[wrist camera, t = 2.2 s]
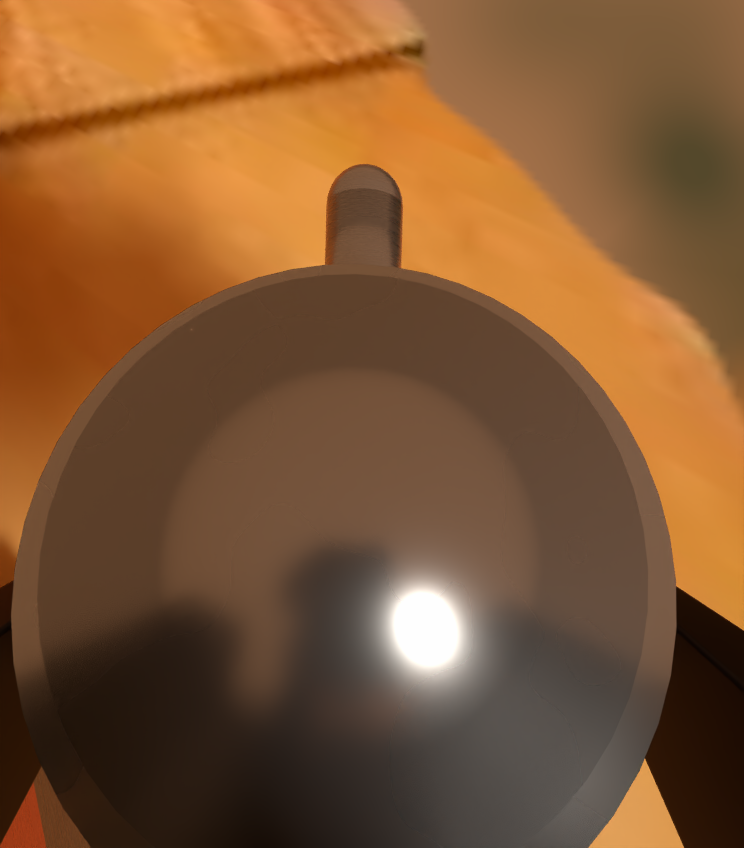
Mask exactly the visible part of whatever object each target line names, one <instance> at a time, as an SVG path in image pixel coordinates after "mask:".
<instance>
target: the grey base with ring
mask: <svg viewBox="0 0 744 848" xmlns="http://www.w3.org/2000/svg"><path fill="white" fill-rule="evenodd" d="M0 848H91V847H90V845H89V844H88V842H87V841H86V840H85V838H84V837H83V835H82V834H81V833H80V831H79V830H78V828H77V827H76V826H75V824H74V823H73V822H72V820H71V819H70V817H69V816H68V815H67V813H66V812H65V810H64V809H63V808H62V806H61V804H60V802H59V800H58V798H57V796H56V794H55V792H54V790H53V788H52V786H51V784H50V782H49V780H48V778H47V776H46V774H45V772H44V770H43V768H42V767H41V769H40V771H39V773H38V775H37V776H36V778H35V780H34V782H33V784H32V786H31V788H30V790H29V792H28V794H27V795H26V797H25V799H24V801H23V803H22V805H21V807H20V809H19V811H18V813H17V814H16V816H15V818H14V820H13V822H12V824H11V826H10V828H9V830H8V832H7V834H6V835H5V837H4V839H3V841H2V843H1V845H0Z"/></svg>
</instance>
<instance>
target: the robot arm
mask: <svg viewBox="0 0 744 848" xmlns="http://www.w3.org/2000/svg"><path fill="white" fill-rule="evenodd" d="M13 585H14V580H13V581H12V582H10V583H8V584H6V585H5V586H3V587H1V588H0V845H1V843H2V841H3V839H4V837H5V835H6V834H7V832H8V830H9V828H10V826H11V824H12V822H13V820H14V818H15V816H16V814H17V813H18V811H19V809H20V807H21V805H22V803H23V801H24V799H25V797H26V795H27V794H28V792H29V790H30V788H31V786H32V784H33V782H34V780H35V778H36V776H37V775H38V773H39V771H40V769H41V767H42V766H41V764H40V762H39V760H38V757H37V754H36V751H35V748H34V745H33V742H32V739H31V736H30V733H29V730H28V727H27V724H26V721H25V718H24V715H23V712H22V707H21V702H20V696H19V691H18V685H17V680H16V674H15V669H14V664H13V644H12V623H11V609H12V597H13ZM645 759H646V762H647V764H648V766H649V768H650V771H651V773H652V775H653V778H654V780H655V782H656V784H657V787H658V789H659V791H660V794H661V796H662V798H663V800H664V803H665V805H666V807H667V810H668V812H669V814H670V816H671V819H672V821H673V823H674V825H675V828H676V830H677V832H678V835H679V837H680V839H681V841H682V844H683V846H684V848H744V630H742V629H741V628H739V627H738V626H736V625H734V624H733V623H731V622H730V621H728V620H727V619H725V618H724V617H722V616H721V615H719V614H718V613H716V612H715V611H713V610H712V609H710V608H709V607H707V606H706V605H704V604H703V603H701V602H699V601H698V600H696V599H695V598H693V597H692V596H690V595H689V594H687V593H686V592H684V591H683V590H681V589H680V588H678V587H677V586H676V636H675V644H674V653H673V661H672V670H671V677H670V681H669V685H668V688H667V692H666V696H665V700H664V704H663V708H662V712H661V716H660V720H659V724H658V726H657V729H656V731H655V734H654V736H653V739H652V741H651V744H650V746H649V748H648V751H647V753H646V756H645Z"/></svg>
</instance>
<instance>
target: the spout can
mask: <svg viewBox="0 0 744 848" xmlns="http://www.w3.org/2000/svg"><path fill="white" fill-rule="evenodd" d="M402 218H403V205H402V196H401V193H400V190H399V188H398V186H397V184H396V182H395V180H394V179H393V178H392V177H391V176H390V175H389V174H388V173H387V172H386V171H384V170H383V169H381V168H379V167H377V166H374V165H369V164H360V165H355V166H352V167H350V168H348V169H346V170H344V171H343V172H342V173H341V174H340V175H339V176H338V177H337V178H336V179H335V181H334V182H333V184H332V186H331V188H330V191H329V193H328V197H327V208H326V247H325V265H321V266H314V267H306V268H299V269H291V270H287V271H283V272H279V273H275V274H271V275H267V276H263V277H258V278H256V279H253V280H250V281H247V282H244V283H242V284H239V285H236V286H233V287H231V288H228V289H225V290H223V291H221V292H219V293H217V294H215V295H213V296H211V297H209V298H207V299H205V300H202V301H200V302H198V303H196V304H194V305H192V306H191V307H189V308H188V309H186V310H184V311H183V312H181V313H180V314H178V315H176V316H175V317H173V318H172V319H170V320H169V321H167V322H165V323H164V324H162V325H161V326H160V327H158V328H157V329H156V330H155V331H153V332H152V333H151V334H149V335H148V336H147V337H146V338H144V339H143V340H142V341H141V342H139V343H138V344H137V345H136V346H134V347H133V348H132V349H131V350H130V351H129V352H128V353H127V354H126V355H125V356H124V357H123V358H122V359H121V360H120V361H119V362H118V363H117V364H116V365H115V366H114V367H113V368H112V369H111V370H110V371H109V372H108V373H107V374H106V375H105V376H104V377H103V378H102V379H101V381H100V382H99V383H98V384H97V386H96V387H95V388H94V389H93V391H92V392H91V393H90V394H89V396H88V397H87V398H86V399H85V401H84V402H83V403H82V404H81V406H80V407H79V408H78V410H77V412H76V413H75V415H74V416H73V418H72V419H71V421H70V423H69V424H68V426H67V427H66V429H65V431H64V432H63V434H62V435H61V437H60V438H59V440H58V442H57V444H56V446H55V448H54V450H53V452H52V454H51V456H50V458H49V460H48V462H47V464H46V466H45V469H44V471H43V473H42V475H41V477H40V479H39V481H38V484H37V487H36V490H35V493H34V496H33V499H32V502H31V505H30V508H29V511H28V513H27V516H26V519H25V522H24V527H23V532H22V536H21V541H20V546H19V551H18V555H17V560H16V565H15V573H14V585H13V597H12V609H11V623H12V644H13V664H14V669H15V674H16V680H17V685H18V691H19V696H20V702H21V707H22V712H23V715H24V718H25V721H26V724H27V727H28V730H29V733H30V736H31V739H32V742H33V745H34V748H35V751H36V754H37V757H38V760H39V762H40V764H41V766H42V768H43V770H44V772H45V774H46V776H47V778H48V780H49V782H50V784H51V786H52V788H53V790H54V792H55V794H56V796H57V798H58V800H59V802H60V804H61V806H62V808H63V809H64V810H65V812H66V813H67V815H68V816H69V817H70V819H71V820H72V822H73V823H74V824H75V826H76V827H77V828H78V830H79V831H80V833H81V834H82V835H83V837H84V838H85V840H86V841H87V842H88V844H89V845H90V847H91V848H588V847H589V846H590V844H591V843H592V842H593V841H594V839H595V838H596V837H597V836H598V834H599V833H600V832H601V831H602V829H603V828H604V827H605V826H606V824H607V823H608V822H609V821H610V819H611V818H612V817H613V816H614V814H615V812H616V810H617V809H618V807H619V805H620V803H621V802H622V800H623V798H624V797H625V795H626V793H627V791H628V790H629V788H630V786H631V784H632V783H633V781H634V779H635V778H636V776H637V774H638V772H639V771H640V768H641V766H642V763H643V761H644V758H645V756H646V753H647V751H648V748H649V746H650V744H651V741H652V739H653V736H654V734H655V731H656V729H657V726H658V724H659V720H660V716H661V712H662V708H663V704H664V700H665V696H666V692H667V688H668V685H669V681H670V677H671V670H672V661H673V653H674V644H675V636H676V578H675V571H674V563H673V556H672V548H671V541H670V535H669V532H668V528H667V524H666V520H665V516H664V512H663V509H662V505H661V501H660V497H659V494H658V491H657V489H656V486H655V484H654V481H653V479H652V476H651V474H650V471H649V468H648V466H647V463H646V461H645V458H644V456H643V454H642V452H641V450H640V448H639V447H638V445H637V443H636V441H635V439H634V437H633V435H632V433H631V432H630V430H629V428H628V426H627V424H626V422H625V421H624V419H623V418H622V416H621V415H620V413H619V412H618V410H617V409H616V408H615V406H614V405H613V403H612V402H611V400H610V399H609V397H608V396H607V394H606V393H605V392H604V390H603V389H602V388H601V387H600V385H599V384H598V383H597V382H596V381H595V380H594V379H593V377H592V376H591V375H590V374H589V373H588V372H587V371H586V369H585V368H584V367H583V366H582V365H581V364H580V362H579V361H578V360H577V359H575V358H574V357H573V356H572V355H571V354H570V353H569V352H568V351H567V350H566V349H565V348H563V347H562V346H561V345H560V344H559V343H558V342H557V341H556V340H555V339H554V338H553V337H551V336H550V335H549V334H547V333H546V332H545V331H543V330H542V329H541V328H539V327H538V326H536V325H535V324H534V323H532V322H531V321H530V320H528V319H527V318H525V317H524V316H523V315H521V314H519V313H518V312H516V311H514V310H512V309H511V308H509V307H507V306H505V305H504V304H502V303H500V302H498V301H497V300H495V299H493V298H491V297H489V296H487V295H485V294H482V293H480V292H478V291H475V290H473V289H471V288H468V287H466V286H464V285H462V284H459V283H456V282H453V281H449V280H446V279H443V278H440V277H437V276H433V275H430V274H427V273H422V272H417V271H411V270H406V269H401V254H402Z"/></svg>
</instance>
